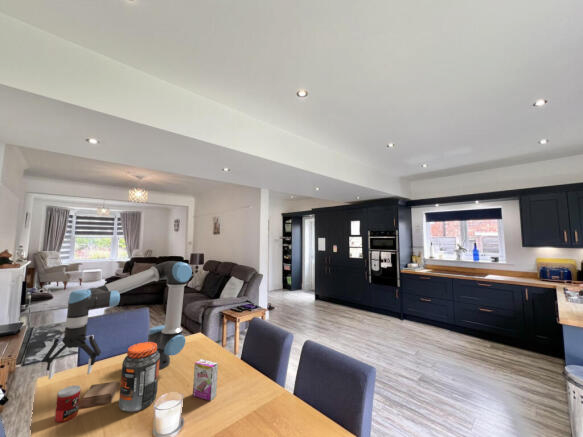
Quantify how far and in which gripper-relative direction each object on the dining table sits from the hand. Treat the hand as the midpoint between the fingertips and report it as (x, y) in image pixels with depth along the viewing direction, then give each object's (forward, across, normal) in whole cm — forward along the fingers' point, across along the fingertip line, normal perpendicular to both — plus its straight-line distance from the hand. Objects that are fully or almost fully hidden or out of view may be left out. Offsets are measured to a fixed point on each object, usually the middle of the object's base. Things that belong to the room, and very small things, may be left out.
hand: (70, 375), depth 109 cm
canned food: (+18, 0, 0) cm, 18 cm away
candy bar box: (+17, -57, +4) cm, 60 cm away
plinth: (+17, -9, -11) cm, 23 cm away
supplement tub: (+18, -27, -1) cm, 32 cm away
